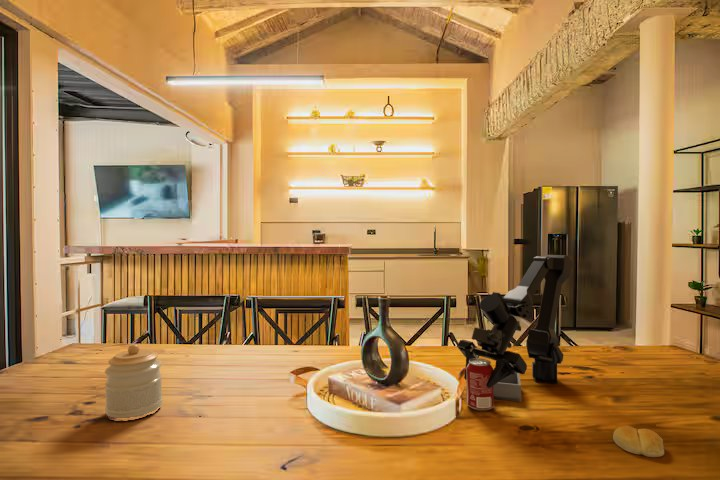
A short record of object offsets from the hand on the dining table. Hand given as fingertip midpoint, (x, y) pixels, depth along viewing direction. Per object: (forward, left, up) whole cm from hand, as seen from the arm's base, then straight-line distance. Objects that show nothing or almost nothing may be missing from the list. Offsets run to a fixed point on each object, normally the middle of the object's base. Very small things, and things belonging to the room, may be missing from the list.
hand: (476, 383), depth 107 cm
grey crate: (-6, -13, -7) cm, 16 cm away
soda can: (-1, -1, -7) cm, 7 cm away
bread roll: (-34, +10, -7) cm, 36 cm away
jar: (+85, +28, -7) cm, 89 cm away
